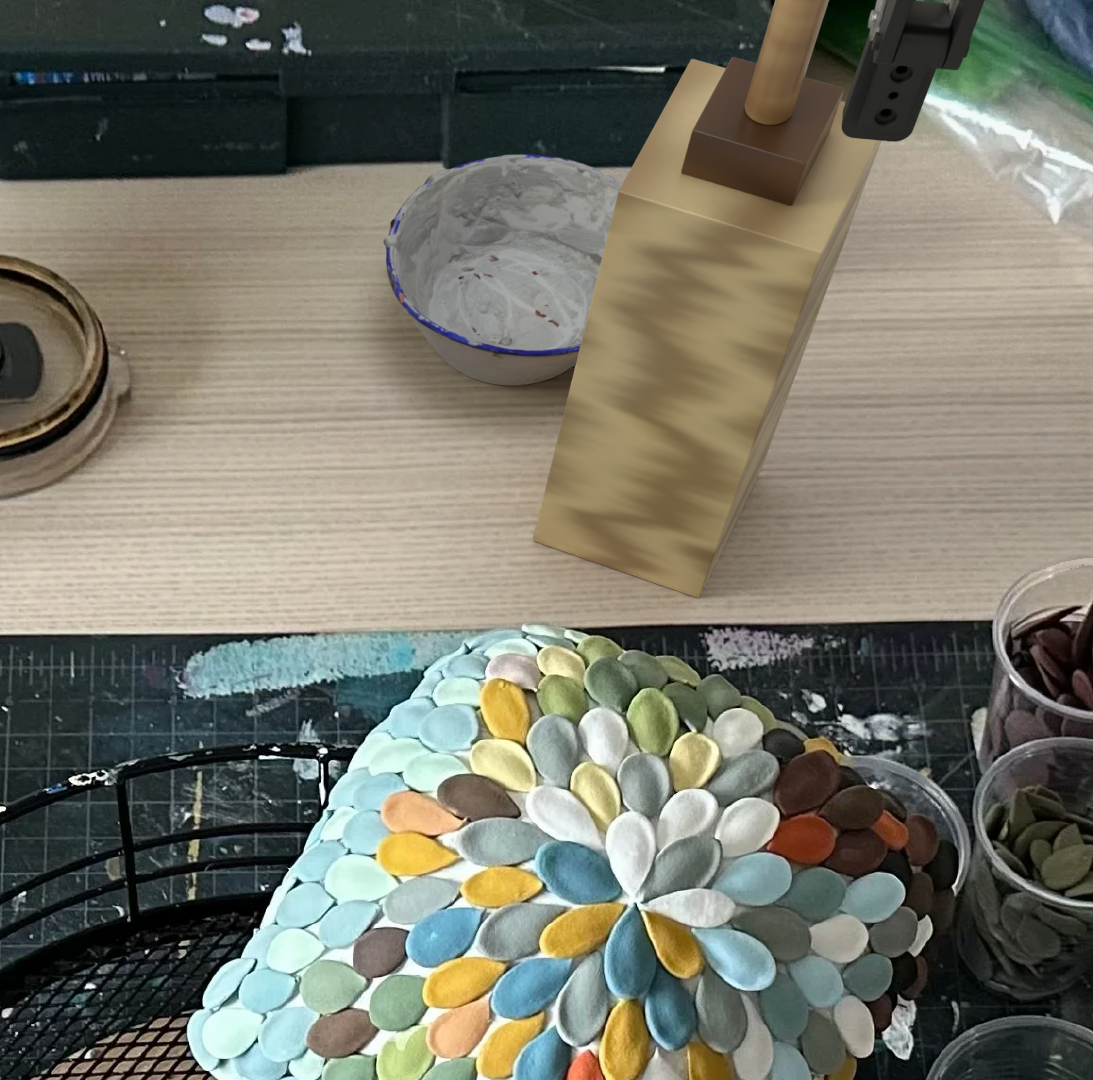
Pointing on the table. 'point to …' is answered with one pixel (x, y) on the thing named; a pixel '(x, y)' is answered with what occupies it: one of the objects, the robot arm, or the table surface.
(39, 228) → the table surface
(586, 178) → the bowl
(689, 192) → the stand
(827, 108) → the wooden stamp
